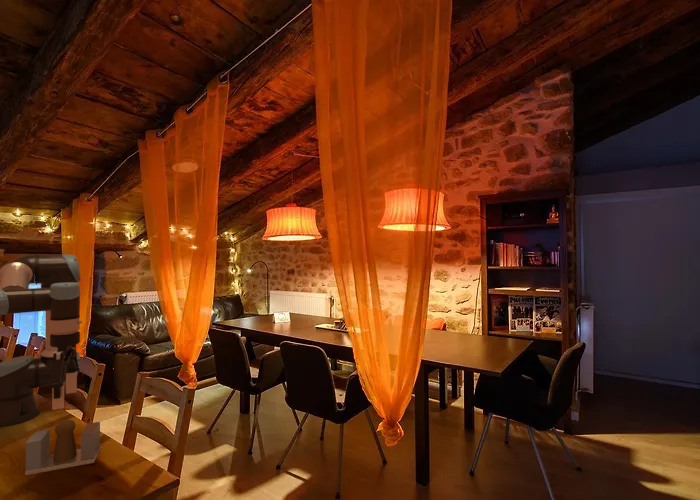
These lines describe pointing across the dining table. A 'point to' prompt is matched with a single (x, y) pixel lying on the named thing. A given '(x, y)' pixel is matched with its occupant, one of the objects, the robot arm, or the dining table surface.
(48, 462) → the vise
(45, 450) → the block
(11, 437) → the dining table surface
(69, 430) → the wooden pawn
